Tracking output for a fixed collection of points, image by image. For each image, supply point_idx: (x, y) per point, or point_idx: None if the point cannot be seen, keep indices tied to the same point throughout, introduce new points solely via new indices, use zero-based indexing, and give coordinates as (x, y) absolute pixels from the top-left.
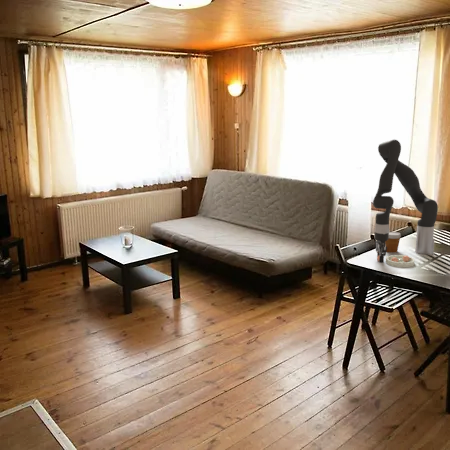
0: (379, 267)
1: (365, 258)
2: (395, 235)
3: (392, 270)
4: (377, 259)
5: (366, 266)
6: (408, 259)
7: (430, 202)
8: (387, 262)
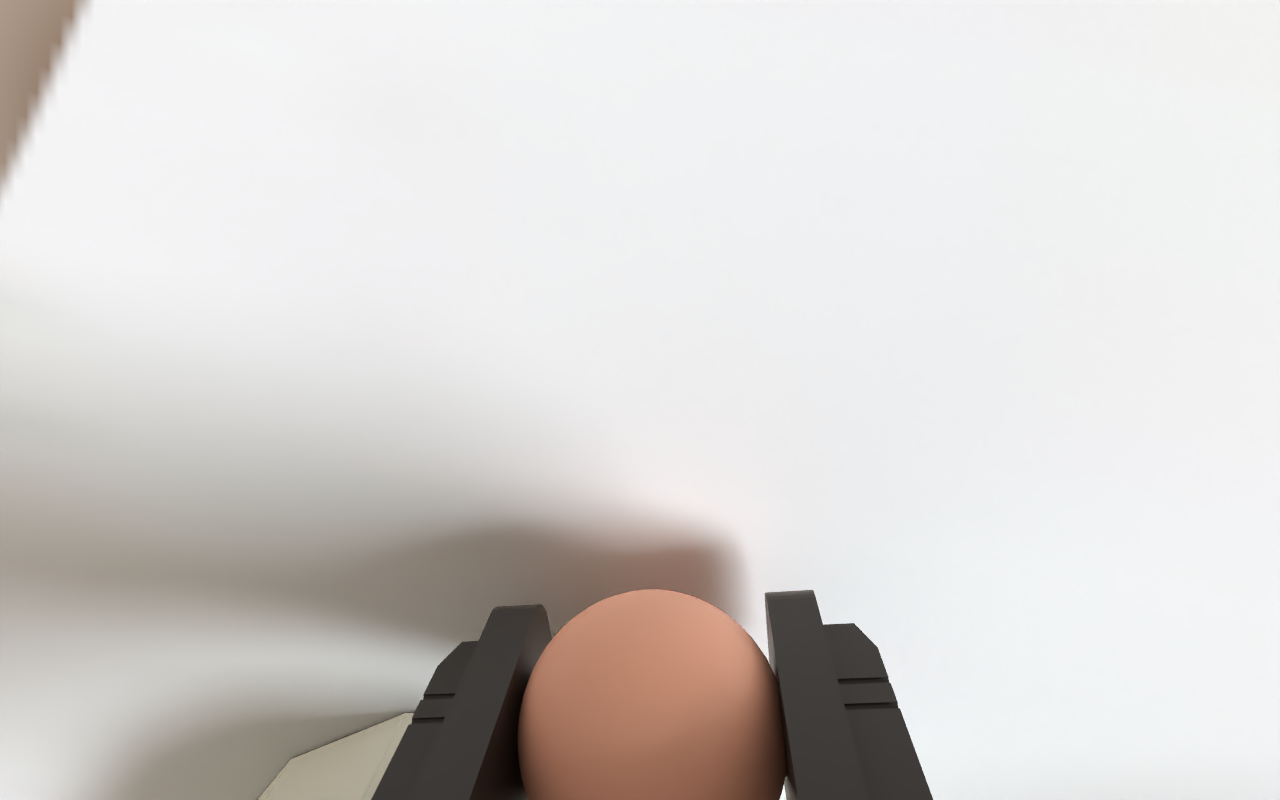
0: (159, 482)
1: (1267, 183)
2: None
3: (21, 725)
4: (633, 594)
5: (119, 39)
6: None
7: None
8: (362, 797)
